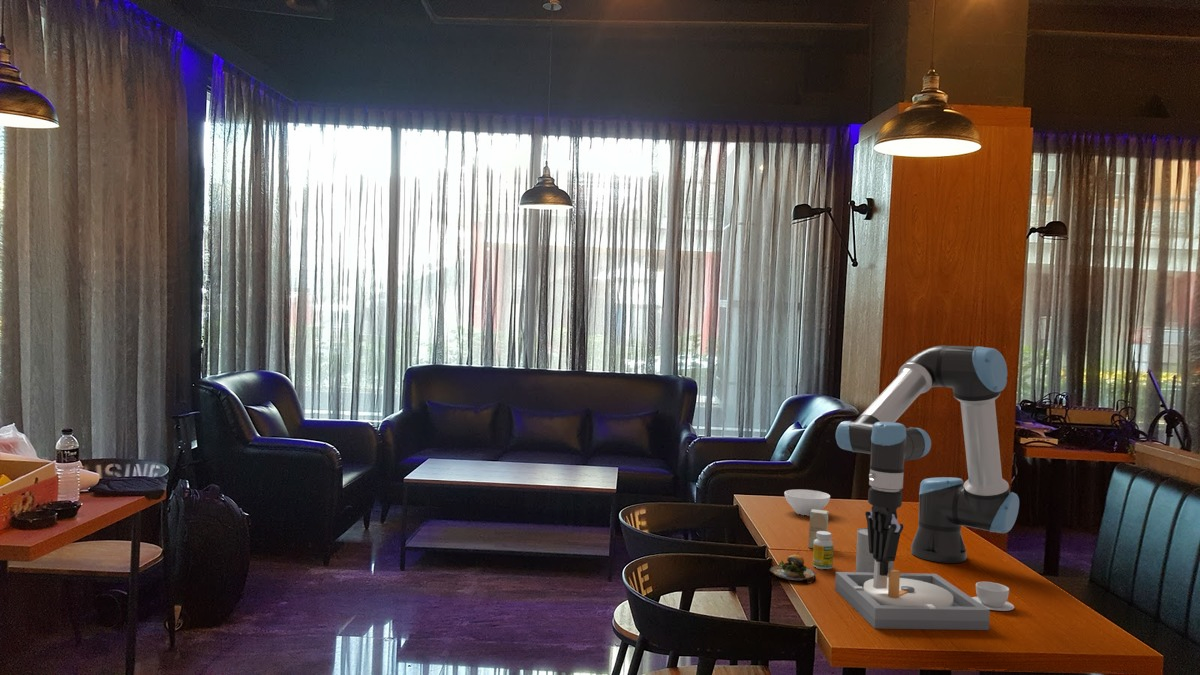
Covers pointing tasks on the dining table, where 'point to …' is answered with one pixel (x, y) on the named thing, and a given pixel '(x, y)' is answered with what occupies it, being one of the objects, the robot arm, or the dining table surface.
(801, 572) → the multicoloured round food plate
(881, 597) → the dial
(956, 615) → the grey square tray
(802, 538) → the dining table surface
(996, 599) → the teacup
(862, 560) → the gray speckled cylinder
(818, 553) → the supplement bottle
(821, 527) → the box
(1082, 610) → the dining table surface
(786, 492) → the bowl
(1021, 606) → the dining table surface
